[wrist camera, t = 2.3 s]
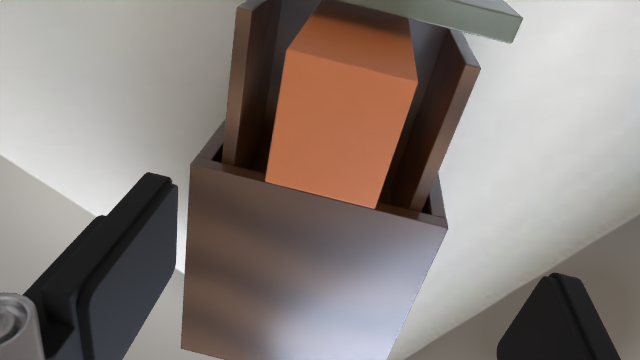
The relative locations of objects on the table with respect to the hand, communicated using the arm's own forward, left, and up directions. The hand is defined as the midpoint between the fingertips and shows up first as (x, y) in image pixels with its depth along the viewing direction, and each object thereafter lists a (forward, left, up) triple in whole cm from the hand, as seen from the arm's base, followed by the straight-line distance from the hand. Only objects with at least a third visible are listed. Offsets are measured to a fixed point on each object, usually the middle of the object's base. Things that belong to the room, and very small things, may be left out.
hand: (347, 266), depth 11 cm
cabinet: (-1, -15, -23) cm, 27 cm away
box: (-1, 0, -21) cm, 21 cm away
